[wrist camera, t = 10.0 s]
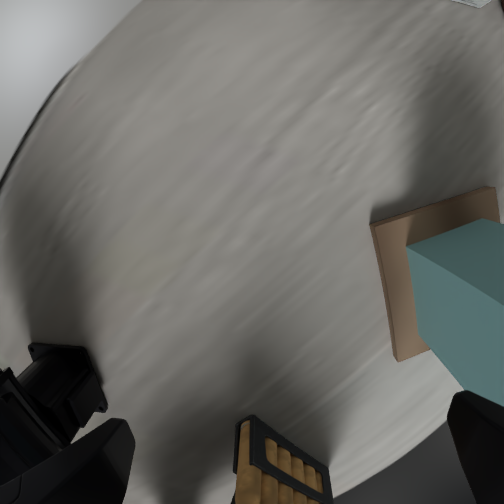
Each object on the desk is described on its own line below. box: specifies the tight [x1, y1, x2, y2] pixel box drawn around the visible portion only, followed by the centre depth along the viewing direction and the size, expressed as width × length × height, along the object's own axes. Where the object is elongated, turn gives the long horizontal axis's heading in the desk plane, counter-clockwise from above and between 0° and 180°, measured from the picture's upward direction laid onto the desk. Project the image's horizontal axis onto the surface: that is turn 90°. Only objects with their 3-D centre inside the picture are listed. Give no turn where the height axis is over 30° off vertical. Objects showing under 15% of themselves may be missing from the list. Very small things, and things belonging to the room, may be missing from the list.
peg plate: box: [369, 187, 500, 362], centre depth 17 cm, size 10×10×5 cm
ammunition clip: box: [233, 415, 334, 504], centre depth 18 cm, size 11×2×12 cm, turn 42°
